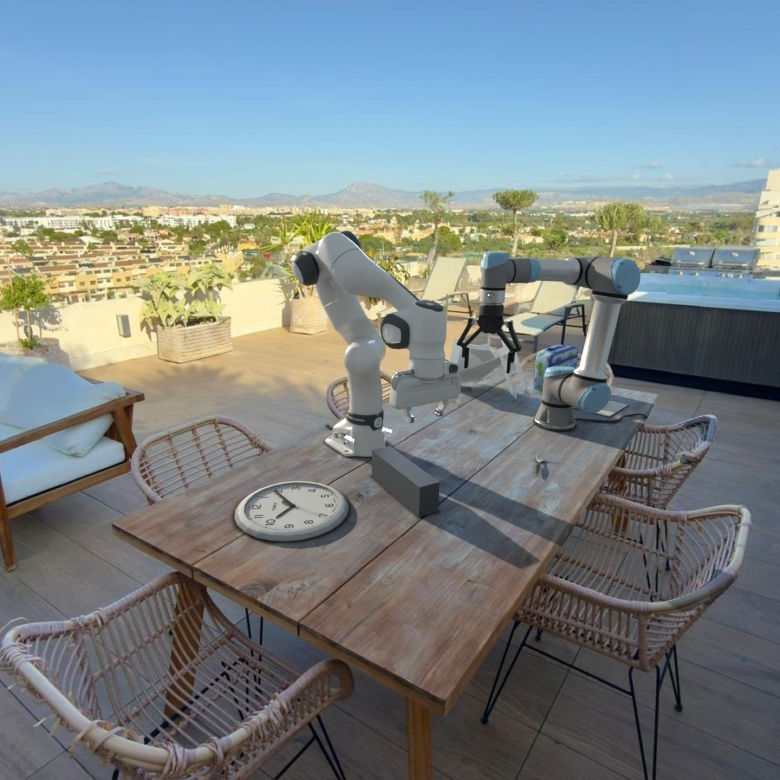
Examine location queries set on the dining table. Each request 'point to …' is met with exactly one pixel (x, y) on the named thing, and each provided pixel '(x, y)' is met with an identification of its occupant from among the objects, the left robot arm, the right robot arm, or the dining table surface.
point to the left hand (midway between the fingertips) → (424, 419)
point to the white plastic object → (486, 364)
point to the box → (406, 481)
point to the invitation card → (611, 408)
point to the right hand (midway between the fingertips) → (486, 370)
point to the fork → (539, 461)
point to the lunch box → (553, 361)
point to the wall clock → (291, 511)
